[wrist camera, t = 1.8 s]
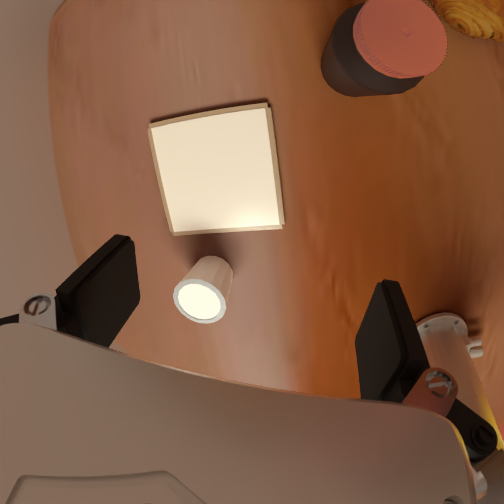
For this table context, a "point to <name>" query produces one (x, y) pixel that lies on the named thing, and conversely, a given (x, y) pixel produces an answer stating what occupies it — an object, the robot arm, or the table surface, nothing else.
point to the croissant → (473, 17)
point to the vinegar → (383, 48)
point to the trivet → (219, 170)
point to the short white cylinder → (205, 290)
